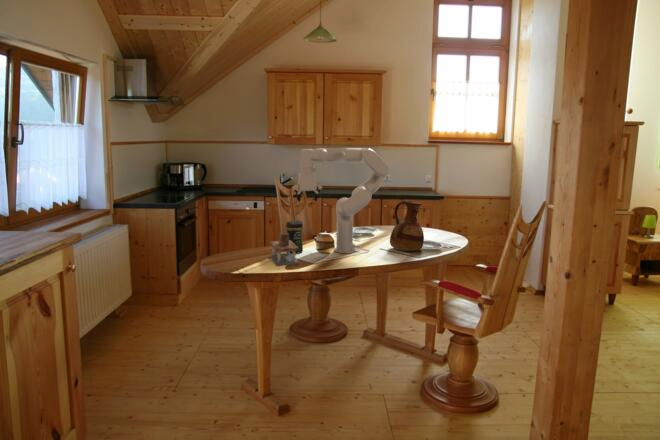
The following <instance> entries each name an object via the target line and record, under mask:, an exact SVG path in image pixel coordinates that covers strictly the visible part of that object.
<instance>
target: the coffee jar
mask: <svg viewBox="0 0 660 440" xmlns="http://www.w3.org/2000/svg"><path fill="white" fill-rule="evenodd" d="M303 228H304V226H303V221H300V220H291V221H290V220H289V221H286V225H285V229H286V233H287V234H289V240H291V241H292V242H293V243H294V244H295V245H296V246H297V247H298V248H299V251H295V254H300V253H302V252H303V249H304V248H303V247H304V246H303V237H302V233H303ZM285 253H287V251H286V252H285ZM290 253H291V254H292V251H290Z"/></svg>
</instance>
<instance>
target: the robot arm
mask: <svg viewBox="0 0 660 440" xmlns="http://www.w3.org/2000/svg"><path fill="white" fill-rule="evenodd" d="M315 162H318V163H323V162H337V163H341V164H342V163H343V164H366V165H367V166H368V167H369V168H370V175H369V177H368V178H367V179H366V180H365V181H364V182H362V183H361V184H360V185H358V186H357V187H356V188H354V189H353V190H352V192H351V196H350V197H340V198H339V199H338V200H337V202H336V204H335V212H336V247H334V248H333V252H334V253H338V254H351V253H355V252H356V248H358V249H359V248H360V249H361V245H362V244H357V243H353V240H354V238H353V237H354V235H353V233H354V215H356V214H357V213H358V212H360V211H361V210H363V209H364V208H365V207H366V206H367V205H368V204H369V203H370V202H371V201H372V197H373V196H372V195H373V194H374V193H376V192H377V191H378V190H379V189H380V188H381V186H383V183H384V178H386V177H388V176H389V174H390V171H391V169H390V166H389V164H388V163H387V162H386V160H384V159H383V158H381V156H380V155H379V154H378V153H377V152H376V151H375V150H373V149H372V148H367V147H339V148H336V147H335V148H334V147H333V148H331V147H328V148H327V147H326V148H323V147H318V148H315V149H312V148H302V149H301V150H300V172H299V173H298V177H297V179H298V180H297V184H295V185H293V186H292V187H291V188H292V191H293V192H294V193H295V194H296V200H297V202H299V203H300V202H301V193H302V192H314V194H313V195H314V196H313V201H315V202H317V201H318V198H319V195H318V194H319V193H320V192H321V191H322V189H323V185H320V183H319V184H318V183H317V177H316V172H317V168H315ZM317 188H318V189H317Z"/></svg>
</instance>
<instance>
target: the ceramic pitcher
mask: <svg viewBox="0 0 660 440" xmlns="http://www.w3.org/2000/svg"><path fill="white" fill-rule="evenodd" d="M402 204H405V205H406V209H407V210H406V214H405V217H404V218H403V219H401V220H400V219H399V218H398V209H399V207H400V206H401V205H402ZM423 204H424V203H423V202H419V201H416V200H413V199H412V200H411V199H404V200H402V201H400V202H399V203H397V204H396V206H395V208H394V217H395V221H396V222H395V223H396V224H395V225H394V227H393V229H392V231H391V234H390V238H389V244H390V246H391V247H392V248H393V249H395V250H397V251H401V252H411V251H413V252H414V251H419V250H421V249H422V248H423V246H424V243H425V242H424V241H425V234H424V230H423V228H422V226H421V224H420V223H419V222H418V218H417V216H418V213H419V208H420V207H421V206H422V205H423Z"/></svg>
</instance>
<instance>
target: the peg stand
mask: <svg viewBox="0 0 660 440" xmlns="http://www.w3.org/2000/svg"><path fill="white" fill-rule="evenodd" d="M269 259H270V260H271V259H272V260H271V261H272V263H273V264H274V265H275V266H276V267H284V266H283V265H285V266H296V265H299V264H300V260H299V261H298V259H297V258H296V253H295V251H292V253H290V251H287V252H286V253H282V252H276V251H275V250H274V249H273V248H272V254H269Z"/></svg>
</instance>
